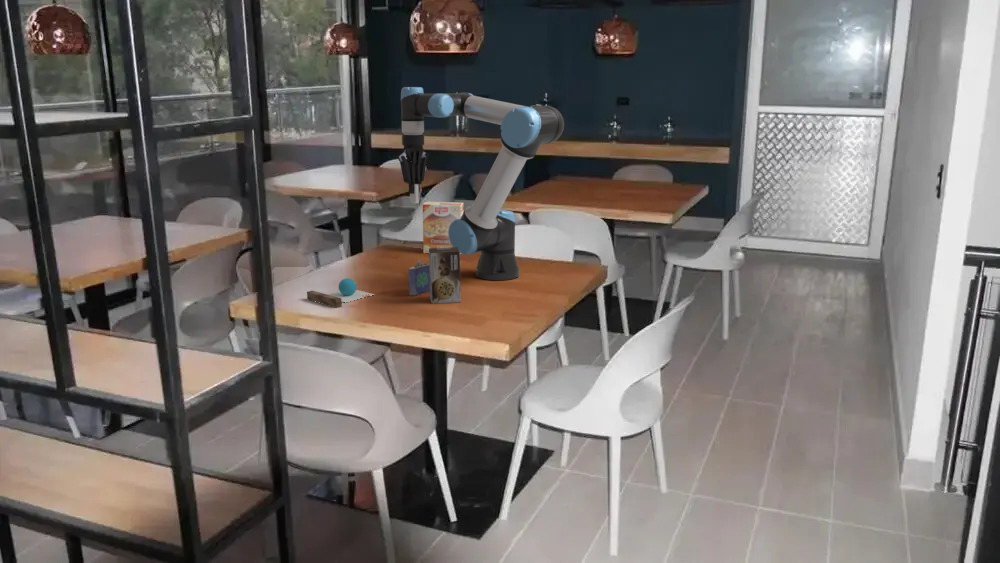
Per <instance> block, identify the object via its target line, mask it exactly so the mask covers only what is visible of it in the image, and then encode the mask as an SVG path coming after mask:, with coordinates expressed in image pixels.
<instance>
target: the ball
mask: <svg viewBox="0 0 1000 563" xmlns="http://www.w3.org/2000/svg"><path fill="white" fill-rule="evenodd" d="M356 290H357V283H356V282H355V280H354V279H353V278H351V277H350V278H348V277H347V278H344V279H341V281H340V282H339V284H338V291H340V292H341V293H342V294H343V295H346V296H349V295H352V294H354V292H355V291H356Z"/></svg>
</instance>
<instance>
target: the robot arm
mask: <svg viewBox="0 0 1000 563" xmlns="http://www.w3.org/2000/svg"><path fill="white" fill-rule="evenodd" d="M400 91H401V92H400V108H401V109H400V110H401V112H400V113H401V133H403V134H402V135H401V145H402V146H403V149H402V153H401V154H400V155H399V154H398V155H397V159H398V161H399V165H400V170H401V173H402V180H403V182H404V183H405V184H407V185H408V193H409V202H410V203H411V204H419V203H420V202H419V201H420V197H419V195H420V194H419V193H420V192H421V191H420V190H421V189H420V185H422V182H424V181H425V175H426V168H427V163H428V159H429V156H430V154H429V153H428V152H425V151H424V147H423V146H424V145H425V135H424V134H423V133H425V120H424V117H430V118H438V119H439V118H441V119H442V118H448V117H454V116H455V117H457V116H459V117H462V118H468V119H473V120H477V121H482V122H486V123H491V124H495V125H500V131H501V132H500V135H501V138H500V143H501V145H502V146H501V149H500V151H499V152H498V155H497V156H496V159H495V160H494V163H493V164H492V166H491V168H490V170H489V172H488V174H487V176H486V178H485V180H484V182H483V184H482V186H481V188H480V190H479V192H478V193H477V196H476V198H475V199H474V201H473V204H472V205H468V206H466V208H465V209H464V210H463V214H462V216H461V218H460V219H457V220H455V221H453V222H452V223H451V224H450V226H449V230H448V236H449V239H450V243H451V245H452V246H453V247H457V248H458V249H459V251H460V253H461V254H462V255H473V254H475V253H478V252H480V255H479V258H478V261H477V266H476V268H475V276H476V277H477V278H479V279H481V280H482V279H483V280H488V281H508V280H509V281H510V280H513V279H517V278H519V277H520V267H519V265H518V260H517V257H516V255H515V253H516V250H515V248H516V246H515V245H516V242H515V240H516V216H515V213H514V212H513V211H511V210H506V209H502V208H503V205H504V203H505V201H506V200H507V197H508V196H509V194H510V193H511V190H512V189H513V186H514V184H516V181H517V179H518V177H519V175H520V173H521V172H522V170H523V168H524V166H525V165H526V162H527V160H530V159H533V158H534V157H535V156H536V154H537V152H538V150H539V148H540V147H541V146H542V145H549V144H552V143H554V142H556V141H557V140H558V139H559V138H560V137H561V136H562V134H563V131H564V129H565V121H564V118H563V115H562V114H561V112H560V111H559V110H558V109H557V108H555V107H553V106H549V105H537V104H534V105H531V106H526V105H521V104H517V103H516V104H515V103H511V102H506V101H502V100H501V101H500V100H498V99H497V100H496V99H492V98H486V97H482V96H477V95H473V93H470V92H457V93H453V92H450V93H447V92H446V93H438V92H437V93H424V88H423V87H421V86H420V87H419V86H404V87H402V88H401V90H400ZM518 276H519V277H518ZM516 277H517V278H516Z"/></svg>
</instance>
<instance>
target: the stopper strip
mask: <svg viewBox="0 0 1000 563" xmlns="http://www.w3.org/2000/svg"><path fill="white" fill-rule="evenodd" d="M327 294H328V293H323V292H319V291H316V290H308V291H306V298H307V299H309V300H308V301H311V300H313V301H312V302H314V301H316V302H315V303H318V302H320V303H319V304H321V303H323V305H325V304H326V305H325V306H328V305H330V306H329V307H332V306H333V308H336V309H337V307H338V308H341V307H343V304H342V303H343V302H342V299H341V298H338V297H335V296H331V295H327Z"/></svg>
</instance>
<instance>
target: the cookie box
mask: <svg viewBox="0 0 1000 563" xmlns="http://www.w3.org/2000/svg"><path fill="white" fill-rule="evenodd" d="M428 260H429V261H428V264H429V270H430V292H429V298H430V302H431V304H433V305H434V304H448V303H450V304H451V303H461V302H462V298H461V296H462V293H461V292H462V291H461V290H462V288H461V255H460V251H459V249H458V248H457V247H449V248H429V254H428Z"/></svg>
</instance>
